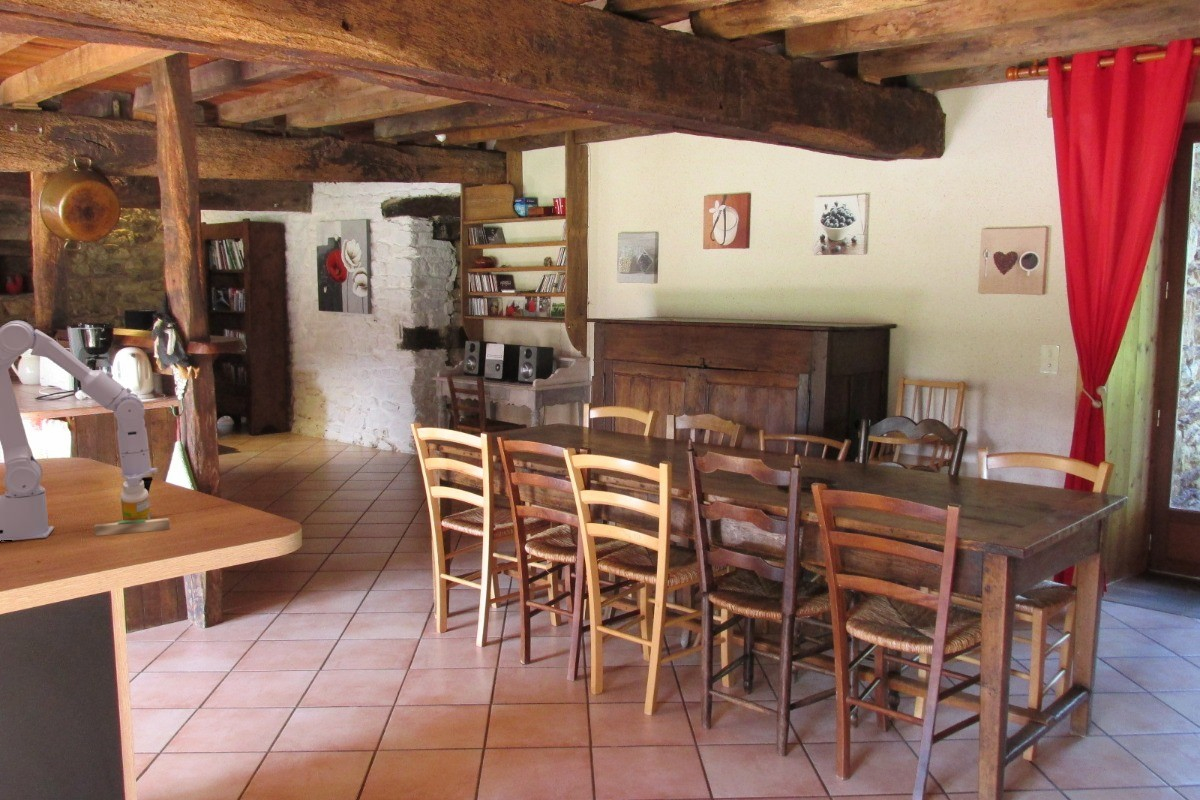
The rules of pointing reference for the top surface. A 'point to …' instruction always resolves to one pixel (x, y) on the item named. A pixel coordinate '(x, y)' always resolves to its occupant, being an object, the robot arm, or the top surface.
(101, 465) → the top surface
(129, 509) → the supplement bottle
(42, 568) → the top surface
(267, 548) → the top surface
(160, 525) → the stop rail
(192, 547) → the top surface
